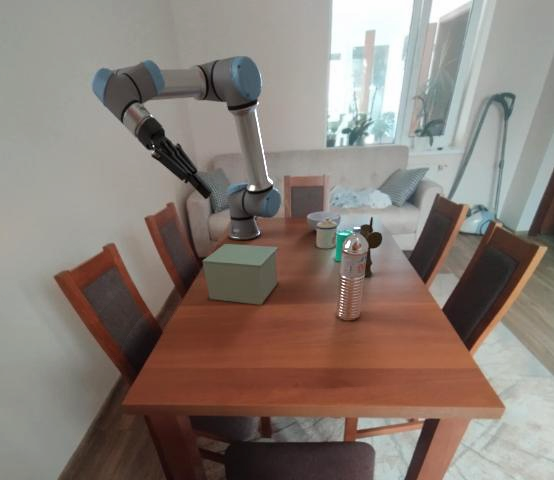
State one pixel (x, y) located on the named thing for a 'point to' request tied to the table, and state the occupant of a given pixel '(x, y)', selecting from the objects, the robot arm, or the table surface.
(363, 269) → the water bottle
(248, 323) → the table surface
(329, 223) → the teacup with lid
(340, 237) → the candle
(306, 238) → the table surface
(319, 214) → the cereal bowl
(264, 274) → the chest
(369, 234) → the kendama
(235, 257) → the green box lid
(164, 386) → the table surface
